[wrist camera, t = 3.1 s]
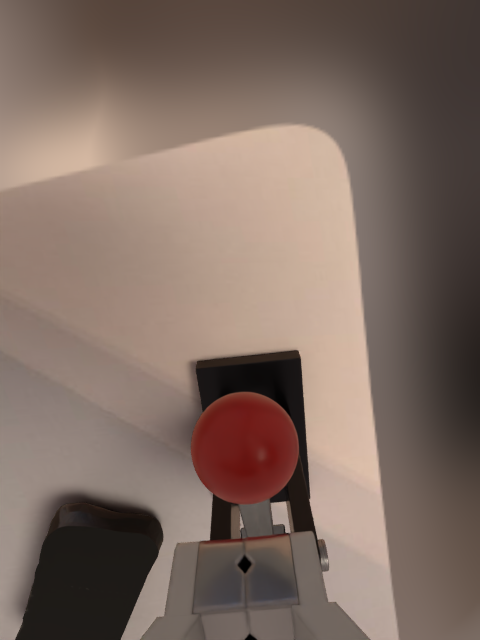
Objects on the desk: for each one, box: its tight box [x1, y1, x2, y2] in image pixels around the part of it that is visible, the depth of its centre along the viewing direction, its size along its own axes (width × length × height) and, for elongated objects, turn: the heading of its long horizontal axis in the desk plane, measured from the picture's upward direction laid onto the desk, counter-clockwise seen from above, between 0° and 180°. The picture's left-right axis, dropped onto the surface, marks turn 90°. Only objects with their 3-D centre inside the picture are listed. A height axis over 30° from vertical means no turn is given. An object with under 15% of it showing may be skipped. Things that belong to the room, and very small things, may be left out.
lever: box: [191, 392, 299, 538], centre depth 17 cm, size 15×3×3 cm, turn 7°
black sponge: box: [15, 502, 163, 640], centre depth 35 cm, size 16×8×4 cm, turn 159°
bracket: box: [196, 351, 329, 572], centre depth 26 cm, size 12×7×13 cm, turn 6°
